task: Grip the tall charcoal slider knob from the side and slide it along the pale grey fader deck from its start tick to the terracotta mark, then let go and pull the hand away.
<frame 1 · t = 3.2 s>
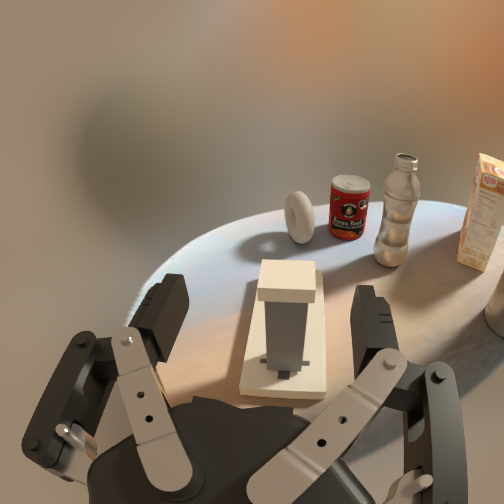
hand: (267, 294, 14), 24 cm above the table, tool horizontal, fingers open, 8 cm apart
plastic bottle: (387, 261, 54), on the table
canned food: (345, 231, 63), on the table
slider knob: (286, 324, 32), point 9 cm above the table, slide at 0.0 cm
coffeecake box: (471, 250, 55), on the table
fader deck: (287, 329, 43), on the table
donut: (298, 240, 61), on the table
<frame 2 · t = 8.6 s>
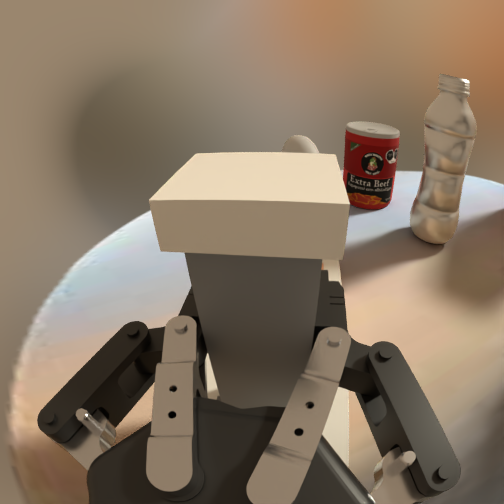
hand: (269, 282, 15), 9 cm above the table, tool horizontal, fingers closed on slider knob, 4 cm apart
plastic bottle: (429, 237, 35), on the table
canned food: (366, 199, 44), on the table
slider knob: (262, 329, 13), point 9 cm above the table, slide at 0.0 cm, touching gripper
fader deck: (277, 339, 24), on the table
donut: (299, 208, 42), on the table
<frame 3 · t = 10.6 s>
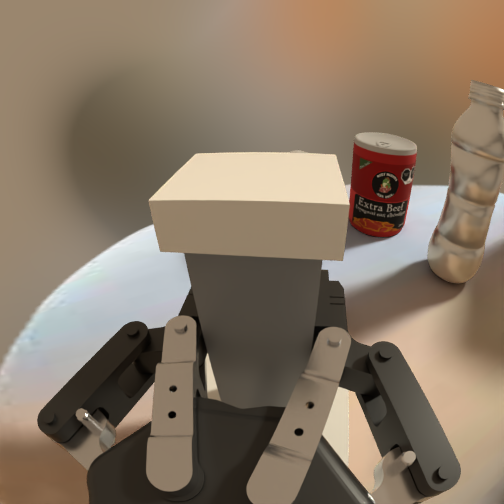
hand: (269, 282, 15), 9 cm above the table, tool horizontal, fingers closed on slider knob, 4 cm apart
plastic bottle: (448, 273, 29), on the table
canned food: (375, 223, 38), on the table
slider knob: (262, 329, 13), point 9 cm above the table, slide at 7.2 cm, touching gripper
fader deck: (265, 422, 18), on the table
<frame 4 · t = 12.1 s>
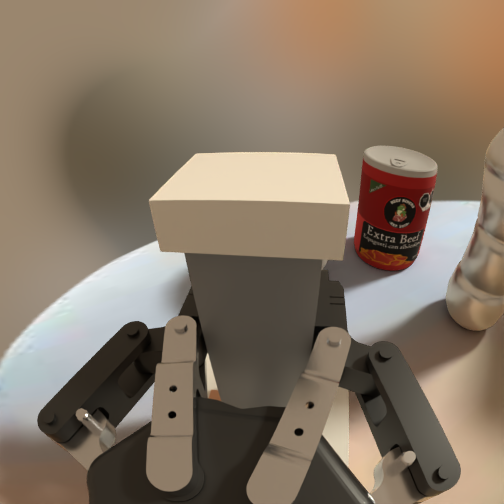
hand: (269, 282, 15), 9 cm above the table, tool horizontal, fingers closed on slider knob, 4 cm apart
plastic bottle: (467, 316, 24), on the table
canned food: (385, 252, 33), on the table
slider knob: (262, 329, 13), point 9 cm above the table, slide at 13.8 cm, touching gripper
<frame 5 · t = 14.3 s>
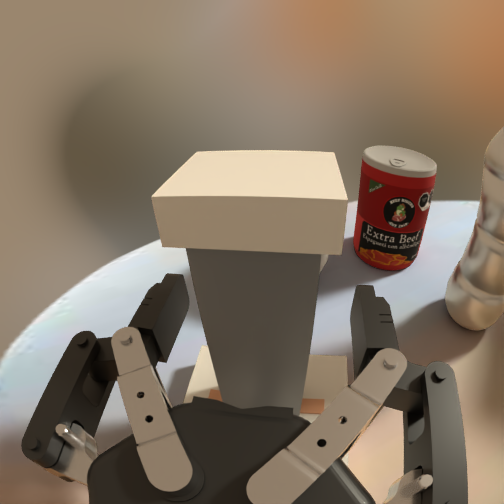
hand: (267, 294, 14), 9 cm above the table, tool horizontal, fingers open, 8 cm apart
plastic bottle: (466, 315, 24), on the table
canned food: (384, 252, 33), on the table
slider knob: (262, 325, 13), point 9 cm above the table, slide at 14.0 cm
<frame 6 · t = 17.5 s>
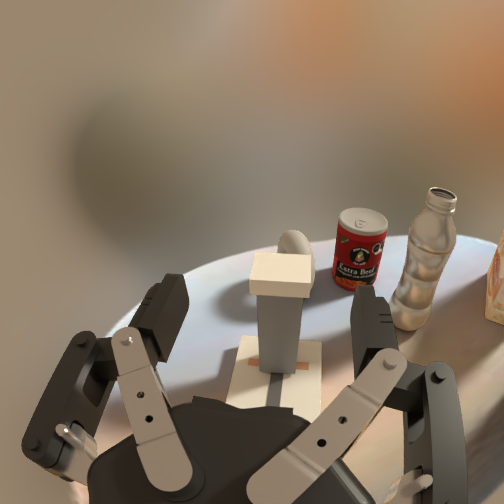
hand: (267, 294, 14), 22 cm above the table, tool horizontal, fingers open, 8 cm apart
plastic bottle: (404, 321, 41), on the table
canned food: (353, 278, 50), on the table
slider knob: (280, 322, 30), point 9 cm above the table, slide at 14.0 cm
coffeecake box: (499, 299, 42), on the table
fader deck: (271, 424, 30), on the table
donut: (293, 290, 48), on the table
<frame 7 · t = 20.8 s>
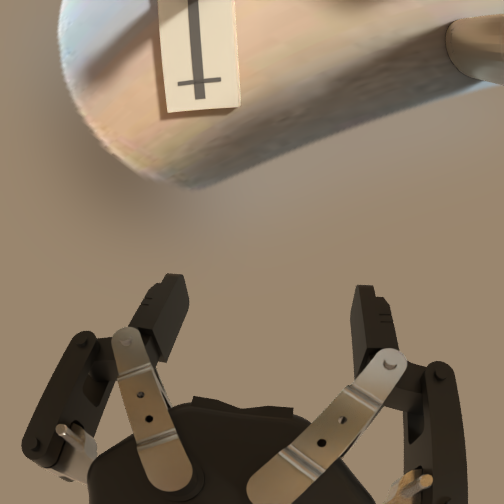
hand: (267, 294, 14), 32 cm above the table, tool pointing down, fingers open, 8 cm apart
fader deck: (199, 33, 33), on the table
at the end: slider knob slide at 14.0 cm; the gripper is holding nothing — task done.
